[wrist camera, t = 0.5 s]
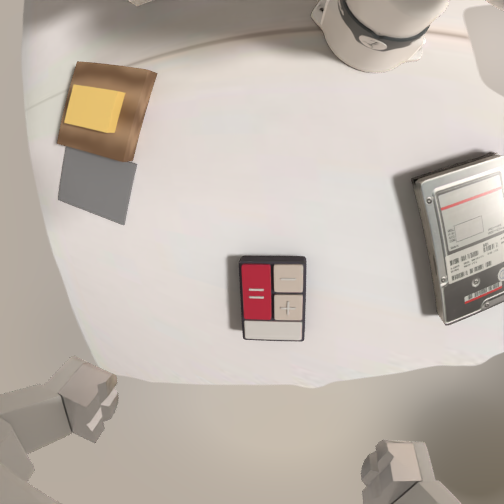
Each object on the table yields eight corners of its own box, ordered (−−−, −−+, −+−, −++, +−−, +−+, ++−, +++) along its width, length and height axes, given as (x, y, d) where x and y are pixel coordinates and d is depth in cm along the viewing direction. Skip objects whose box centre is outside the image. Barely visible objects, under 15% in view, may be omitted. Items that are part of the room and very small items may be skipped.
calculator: (306, 262, 51) (304, 344, 55) (306, 254, 55) (304, 331, 59) (237, 262, 52) (242, 342, 57) (242, 254, 57) (246, 330, 61)
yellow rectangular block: (81, 85, 46) (73, 84, 43) (125, 92, 45) (117, 91, 43) (72, 122, 48) (64, 122, 46) (114, 132, 48) (106, 132, 46)
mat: (67, 144, 53) (66, 144, 53) (137, 164, 53) (135, 164, 52) (59, 199, 57) (58, 199, 57) (124, 224, 57) (123, 225, 57)
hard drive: (493, 152, 43) (506, 154, 39) (509, 284, 50) (520, 293, 46) (410, 178, 47) (419, 181, 43) (436, 315, 54) (444, 327, 50)
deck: (87, 64, 48) (77, 61, 44) (157, 73, 47) (148, 69, 44) (68, 142, 53) (56, 143, 50) (132, 160, 53) (123, 162, 49)
